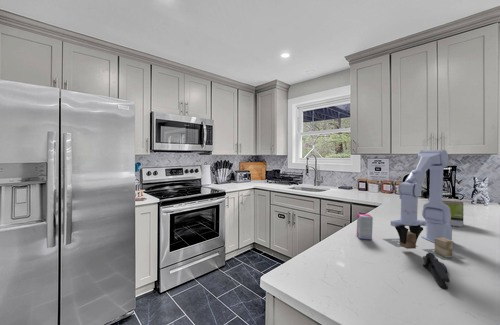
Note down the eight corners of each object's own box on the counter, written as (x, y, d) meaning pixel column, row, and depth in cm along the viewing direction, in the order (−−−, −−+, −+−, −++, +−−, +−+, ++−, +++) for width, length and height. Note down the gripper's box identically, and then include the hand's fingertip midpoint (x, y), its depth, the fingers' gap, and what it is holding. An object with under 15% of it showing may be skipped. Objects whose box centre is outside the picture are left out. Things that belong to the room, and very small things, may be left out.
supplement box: (372, 240, 108) (373, 216, 108) (359, 239, 109) (359, 216, 109) (368, 236, 114) (369, 213, 113) (356, 235, 115) (356, 213, 115)
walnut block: (408, 244, 98) (408, 231, 98) (415, 248, 94) (416, 234, 94) (399, 245, 97) (399, 231, 97) (406, 248, 93) (406, 234, 93)
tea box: (459, 223, 138) (459, 199, 137) (463, 227, 129) (464, 201, 129) (428, 219, 146) (428, 196, 145) (430, 223, 137) (430, 199, 137)
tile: (401, 238, 111) (401, 238, 111) (418, 246, 101) (418, 246, 101) (382, 239, 110) (382, 238, 110) (397, 247, 100) (397, 247, 100)
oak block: (441, 251, 96) (442, 237, 96) (452, 255, 92) (452, 240, 92) (434, 252, 95) (434, 238, 94) (444, 256, 91) (445, 241, 91)
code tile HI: (443, 248, 99) (443, 248, 99) (466, 259, 89) (466, 259, 89) (421, 249, 98) (421, 249, 98) (443, 260, 88) (443, 259, 88)
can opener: (419, 263, 85) (420, 249, 85) (443, 268, 82) (444, 252, 82) (429, 287, 70) (430, 269, 70) (459, 294, 67) (460, 275, 66)
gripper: (399, 213, 90) (398, 247, 91) (433, 212, 91) (432, 246, 92) (387, 209, 97) (386, 240, 98) (419, 208, 98) (418, 239, 99)
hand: (408, 242), depth 95 cm, fingers closed on walnut block, 4 cm apart
